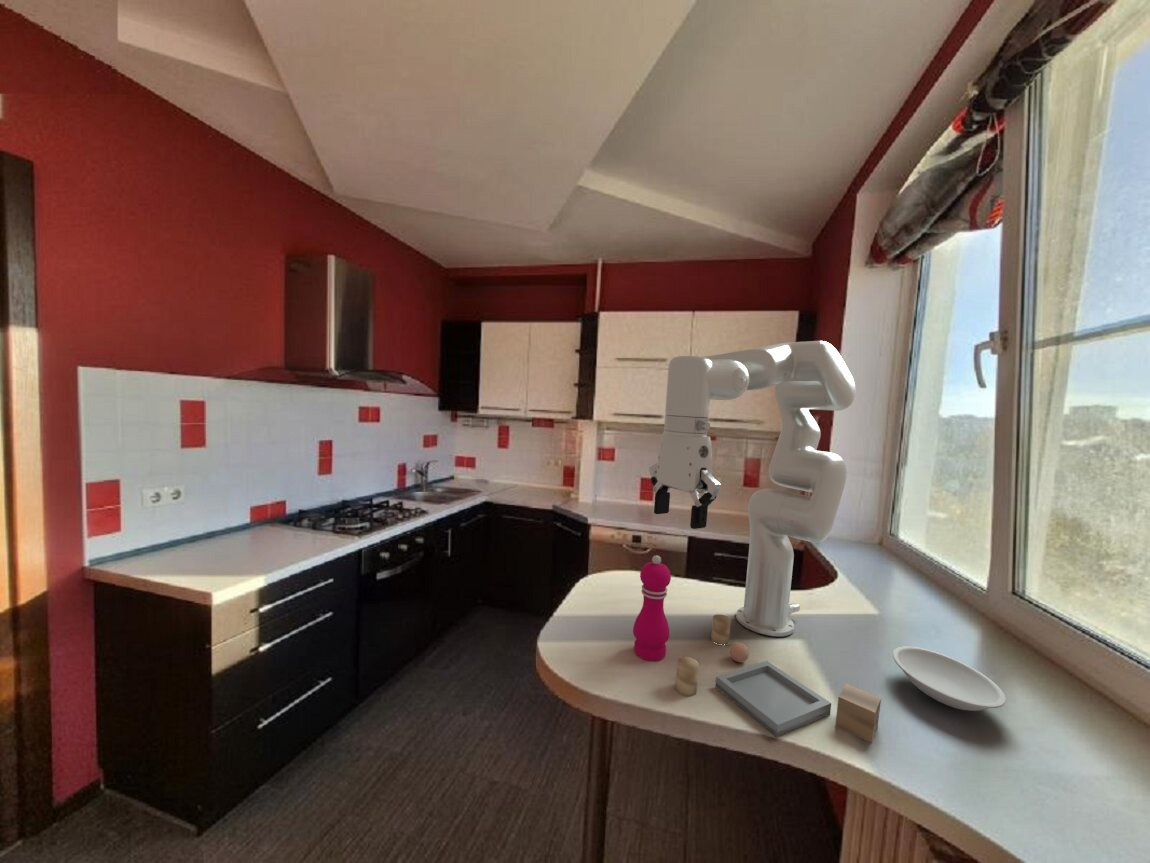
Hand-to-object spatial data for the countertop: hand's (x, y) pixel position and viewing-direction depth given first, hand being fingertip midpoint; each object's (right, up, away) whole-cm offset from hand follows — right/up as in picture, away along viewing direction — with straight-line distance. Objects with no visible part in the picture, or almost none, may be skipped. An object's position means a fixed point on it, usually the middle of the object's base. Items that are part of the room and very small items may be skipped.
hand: (678, 520), depth 82 cm
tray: (+15, -30, -4) cm, 34 cm away
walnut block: (+27, -32, -9) cm, 42 cm away
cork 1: (+1, -30, -2) cm, 30 cm away
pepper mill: (-4, -29, +9) cm, 30 cm away
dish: (+47, -32, -1) cm, 57 cm away
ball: (+14, -28, +8) cm, 32 cm away
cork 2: (+12, -29, +15) cm, 35 cm away
